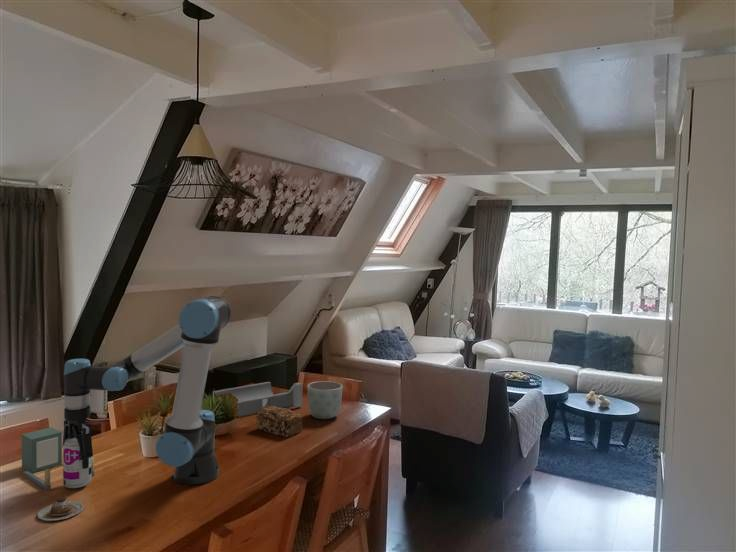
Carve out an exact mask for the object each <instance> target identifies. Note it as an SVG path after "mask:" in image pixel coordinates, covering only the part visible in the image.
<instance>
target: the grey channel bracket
mask: <svg viewBox="0 0 736 552" xmlns="http://www.w3.org/2000/svg"><path fill="white" fill-rule="evenodd" d="M303 387H304V385H303V383H301V382H295V383H293V385H292V386H291V387H290V389H289V390H288V391H287V392H282V393H281V392H280V393H276V394H274V392H273V390H272V383H271V382H270V381H266V382H259V383H254V384H250V385H249V384H248V385H242V386H237V387H231V388H230V387H229V388H223V389H218V390H212V393H213V392H214V393H215V395H220V394H225V393H231V394H232V395H233V396H235V397H236V398H237V399H238V402H237V403H238V405H237V409H238V417H237V418H240V417H241V418H242V417H246V416H250V415H257V413H258V411H259V409H261V408H263V407H265V406H275V407H281V408H288V407H292V408H293V409H294V410H296V408H301V409H302V408H303V392H304V391H303V390H304V389H303Z"/></svg>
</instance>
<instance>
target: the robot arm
mask: <svg viewBox="0 0 736 552" xmlns="http://www.w3.org/2000/svg"><path fill="white" fill-rule="evenodd" d="M231 318H232V308H231V306H230V304H229V302H228V301H227V300H226V299H224V298H222V297H220V296H217V295H212V296H210V295H209V296H206V297H203V298H201V297H200V298H197V299H194V300H192V301H190V302H188V303H187V304H185V305H184V306H183V307H182V308H181V311H180V313H179V315H178V324H176V325H174V327H172V328H170V329H169V330H167V331H166V332H163V334H161V335H160V336H158V337H156V338H155V339H153V340H151V341H150V342H149V343H147V344H145V345H143V346H142V347H140V348H139V349H136V351H135V352H132V353H131V354H129V355H128V356H126V357H125V358H123V359H122V360H119V361H117V362H114V363H112V364H109V365H106V366H93V365H92V364H91V361H90V360H89V359H87V358H72V359H68V360H66V361H65V363H64V370H63V378H64V379H63V383H64V384H63V385H64V392H63V394H64V395H63V406H64V410H63V412H64V413H63V414H64V415H63V416H64V420H63V433H62V448H63V445H64V443H65V440H66V439H68V438H69V439H71V438H75V439H77V441H78V443H79V447H80V456H81V458H79V479H82V478H86V477H89V458H90V457H93V456H94V451H93V442H92V441H93V440H92V426H90V425H89V426H87V422H86V420H87V419H88V418H90V417H91V406H90V403H91V396H92V394H91V390H93V391H94V390H95V391H109V392H114V391H115V392H117V391H122V390H123V389H124V388H125V386H127V383H128V382H129V381H131V380H135V379H136V378H138V377H139V376H141V375H142V374H143V373H144V372H145V371H147V370H149V369H150V368H152V367H154V366H155V365H158V363H160V362H162V361H163V360H165V359H167V358H168V357H170V356H171V355H172V354H174V353H176V352H178V351H179V350H181V349H182V348H183V352H182V357H181V363H180V367H179V368H180V369H179V375H178V380H177V386H176V391H175V394H174V395H175V396H174V401H173V405H172V406H173V407H172V412H171V415H169V416H168V417H166V419H165V424H164V427H163V428H164V429H163V433H162V434H161V435H160V436H159V438H158V439H157V441H156V443H155V452H156V455H157V457H158V458H159V459H160V461H161V462H162V463H163V464H165V465H166V466H168V467H173V468H174V470H173V480H174V481H175V482H176V483H179V484H183V485H189V486H190V485H191V486H192V485H201V484H206V483H209V482H211V481H214V480H215V479H217V478H218V477H219V474H220V467H219V463H218V460H217V458H216V454H215V426H216V425H215V422H216V420H215V413H214V412H213V411H211V410H208V409H202V404H203V399H204V394H205V388H206V383H207V377H208V373H209V372H208V371H209V367H210V362H211V356H212V350H213V347H215V346H216V345H217V344H218V343H219V341H220V340H219V339H220V334H221V330H222V329H224V328H225V327H226V326H227V325H228V324H229V322H230V321H231Z"/></svg>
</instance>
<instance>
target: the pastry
mask: <svg viewBox="0 0 736 552" xmlns="http://www.w3.org/2000/svg"><path fill="white" fill-rule="evenodd" d="M74 509H75V511H74ZM83 509H84V504H83V503H82V502H80V501H79V502H78V501H75V500H73V501H72V500H69V499H67V497H66V496H63V497H59V498H56V501H55V502H54V503H52V504H48V505H47V506H45V507H42V509H40V510H39V511H38V513H37V518H38V519H39V520H41V521H44V522H45V521H46V522H52V521H53V522H54V521H60V520H65V519H69V518H71V517H75V516H76V515H78V514H79V513H81V512H82V511H83ZM73 511H74V512H73ZM72 512H73V513H72ZM47 513H49V515H50V516H52V517H59V518H49V517H47V516H46V514H47ZM69 514H70V515H69ZM67 515H68V516H67ZM63 516H64V517H63Z"/></svg>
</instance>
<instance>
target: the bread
mask: <svg viewBox="0 0 736 552" xmlns="http://www.w3.org/2000/svg"><path fill="white" fill-rule="evenodd" d="M255 419H256V423H255V425H256V426H257V429H258V430H260V431H261V430H262V431H264V432H266V433H269V434H273V435H276V436H283V437H284V438H287V437H292V436H294V435H296V434H300V433H301V432H302V429H303V417H302V416H301V414H299V413H298V412H295V411H294V410H291V409H288V408H286V407H284V408H281V407H275V406H265V407H263V408H261V409H259V411H258V413H256V416H255Z"/></svg>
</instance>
